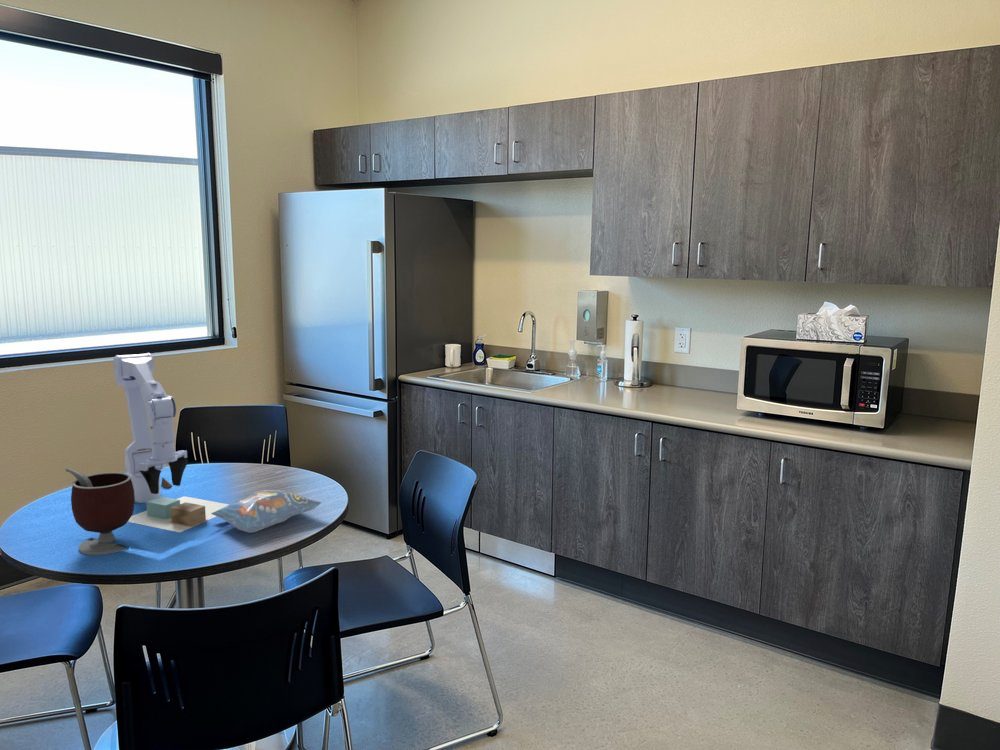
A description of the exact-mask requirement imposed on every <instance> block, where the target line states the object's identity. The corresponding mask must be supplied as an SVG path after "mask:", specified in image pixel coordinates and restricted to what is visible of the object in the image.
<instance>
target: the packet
mask: <svg viewBox="0 0 1000 750" xmlns="http://www.w3.org/2000/svg"><path fill="white" fill-rule="evenodd" d="M321 504H322V502H321V501H318V500H313V499H310V498H307V497H305V496H302V495H300V494H297V493H291V492H290V491H289V490H288V491H287V490H281V489H263V490H262V489H261V490H255V491H254V492H253V493H251V494H250V495H249V496H247V497H245V498H243V499H240V500H238V501H236V502H233V503H231V504H229V505H228V506H226V507H224V508H222V509H220V510H217V511H215V512H213V513H211V514H212V515H215V516H217V517H218V518H220V519H222V520H223V521H225V522H227V523H228V524H230V526H231V525H232V527H235V528H236V529H237V530H239V531H242V532H246V533H249V534H251V533H256V532H259V531H261V530H264V529H266V528H269V527H272V526H275V525H276V524H280V523H283V522H285V521H286V520H288V519H289V518H291V517H293V516H296V515H300V514H302V513H307V512H310V511H313V510H315V509H316V508H317V507H318V506H320V505H321Z"/></svg>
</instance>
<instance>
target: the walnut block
mask: <svg viewBox="0 0 1000 750" xmlns="http://www.w3.org/2000/svg"><path fill="white" fill-rule="evenodd" d="M171 515H172V522H174V523H179V524H184V525H189V526H193V525H195V524H198V523H200V522H202V521H205V520H206V513H205V506H203V505H198V504H192V503H187V502H185V503H182V504H180V505H177V506H175V507H172V508H171ZM205 522H206V521H205ZM198 525H199V524H198Z"/></svg>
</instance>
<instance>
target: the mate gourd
mask: <svg viewBox="0 0 1000 750" xmlns="http://www.w3.org/2000/svg"><path fill="white" fill-rule="evenodd" d="M65 472H68V473H70V474H71V475H73V477H75V478H76V479H74V480H73V482H71V483H72V488H71V493H70V495H71V496H70V503H71V511H72V512H71V513H72V515H73V519H74V521H75V523H76V524H77V525H78V526H79V527H80V528H81V529H82V530H84V531H86V532H91V533H98V534H99V536H98V538H92V537H91V538H87V539H86V540H84V541H81V543H79V545H78V551H79V552H80V554H84V555H89V556H101V555H108V554H109V555H110V554H114V553H117V552H121V551H124V550H126V549H128V548H129V547H130V546H127V545H123V544H120V543H115V542H114V541H115V539H116V536H115V534H114V532H113V531H115V530H117V529H120V528H121V527H123V526H126V524H127V523H129V522H128V521H129V519H130V518H131V516H133V514H134V511H135V510H134V509H135V503H136V502H135V496H134V488H133V484H132V481H131V476H130V475H129V473H127V472H126V473H125V472H119V471H118V472H116V471H115V472H114V471H113V472H111V471H110V472H101V473H100V472H99V473H93V474H90V475H85V474H84V473H82V472H79V471H77V470H74V469H72V468H68V467H66V468H65Z"/></svg>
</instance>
